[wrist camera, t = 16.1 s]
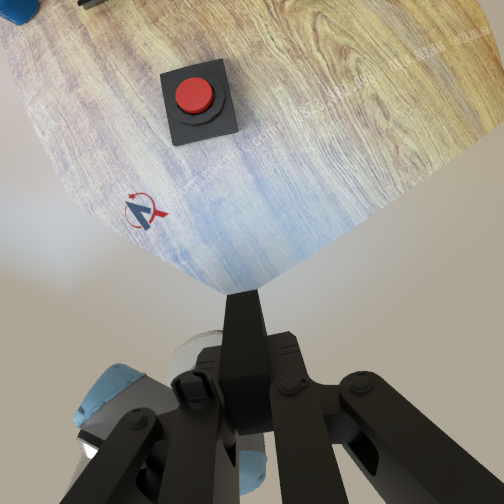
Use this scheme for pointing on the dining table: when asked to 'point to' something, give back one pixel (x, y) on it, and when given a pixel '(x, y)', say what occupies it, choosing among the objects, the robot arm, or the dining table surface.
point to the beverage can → (18, 10)
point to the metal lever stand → (92, 4)
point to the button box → (209, 121)
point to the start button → (194, 95)
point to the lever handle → (83, 2)
